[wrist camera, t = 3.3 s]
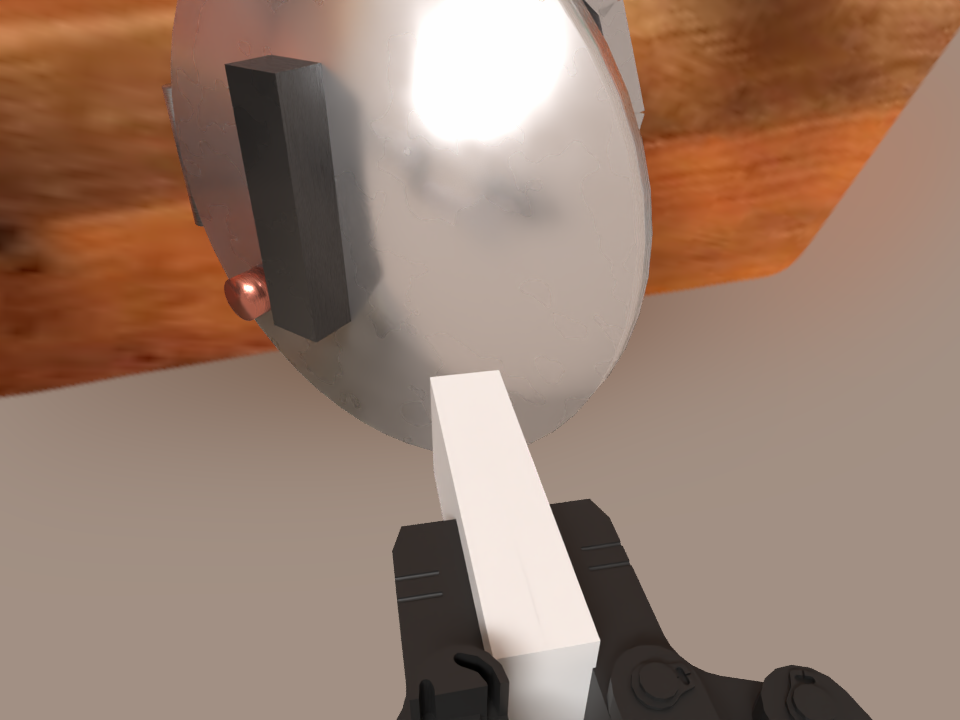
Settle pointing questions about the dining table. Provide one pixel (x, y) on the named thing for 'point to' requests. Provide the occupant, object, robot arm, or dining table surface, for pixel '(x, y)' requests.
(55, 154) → the dining table surface
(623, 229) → the lid
